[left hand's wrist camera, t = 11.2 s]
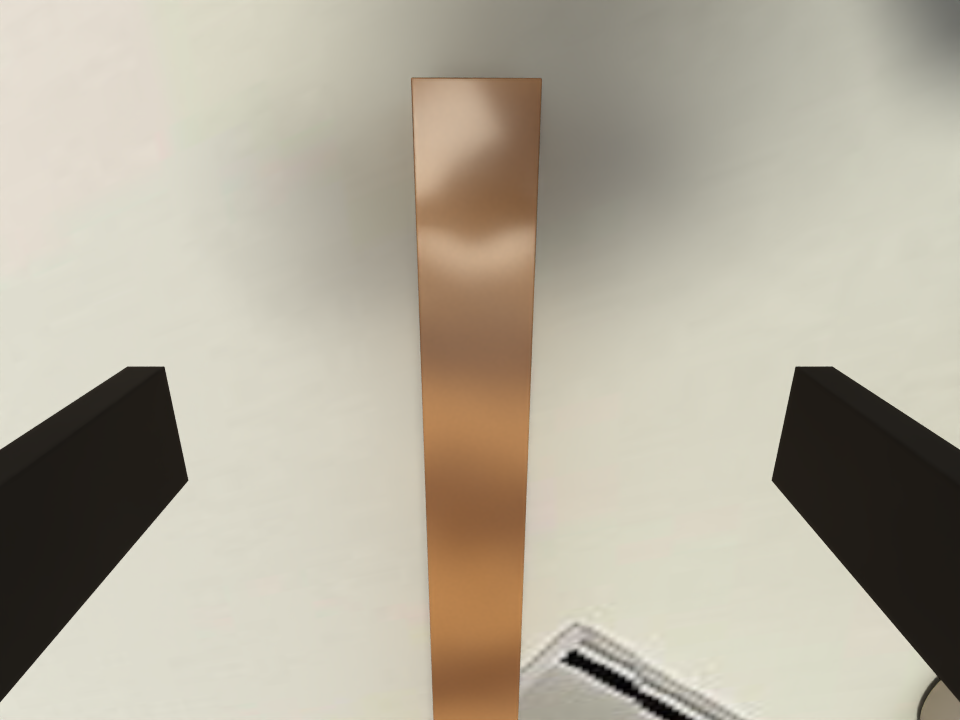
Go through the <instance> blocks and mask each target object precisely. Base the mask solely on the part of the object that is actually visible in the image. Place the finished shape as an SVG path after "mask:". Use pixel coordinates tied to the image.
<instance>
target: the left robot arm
mask: <svg viewBox="0 0 960 720" xmlns="http://www.w3.org/2000/svg"><path fill="white" fill-rule="evenodd" d="M187 481H188V477H187V472H186V467H185V462H184V458H183V453H182V448H181V443H180V439H179V434H178V429H177V424H176V420H175V415H174V410H173V405H172V400H171V396H170V391H169V386H168V381H167V377H166V372H165V367H126V368H125V369H123V370H122V371H120V372H119V373H117V374H116V375H114V376H112V377H111V378H109V379H108V380H106V381H105V382H103V383H102V384H100V385H99V386H97V387H96V388H94V389H93V390H91V391H89V392H88V393H86V394H85V395H83V396H82V397H80V398H79V399H77V400H76V401H74V402H73V403H71V404H70V405H68V406H66V407H65V408H63V409H62V410H60V411H59V412H57V413H56V414H54V415H53V416H51V417H50V418H48V419H47V420H45V421H43V422H42V423H40V424H39V425H37V426H36V427H34V428H33V429H31V430H30V431H28V432H27V433H25V434H24V435H22V436H20V437H19V438H17V439H16V440H14V441H13V442H11V443H10V444H8V445H7V446H5V447H4V448H2V449H1V450H0V702H1V701H2V700H3V698H4V697H5V696H6V695H7V694H8V692H9V691H10V690H11V689H12V688H13V687H14V685H15V684H16V683H17V682H18V681H19V679H20V678H21V677H22V676H23V675H24V674H25V672H26V671H27V670H28V669H29V668H30V667H31V665H32V664H33V663H34V662H35V661H36V659H37V658H38V657H39V656H40V655H41V654H42V652H43V651H44V650H45V649H46V648H47V646H48V645H49V644H50V643H51V642H52V641H53V639H54V638H55V637H56V636H57V635H58V634H59V632H60V631H61V630H62V629H63V628H64V626H65V625H66V624H67V623H68V622H69V621H70V619H71V618H72V617H73V616H74V615H75V613H76V612H77V611H78V610H79V609H80V608H81V606H82V605H83V604H84V603H85V602H86V601H87V599H88V598H89V597H90V596H91V595H92V593H93V592H94V591H95V590H96V589H97V588H98V586H99V585H100V584H101V583H102V582H103V580H104V579H105V578H106V577H107V576H108V575H109V573H110V572H111V571H112V570H113V569H114V568H115V566H116V565H117V564H118V563H119V562H120V560H121V559H122V558H123V557H124V556H125V555H126V553H127V552H128V551H129V550H130V549H131V547H132V546H133V545H134V544H135V543H136V542H137V540H138V539H139V538H140V537H141V536H142V535H143V533H144V532H145V531H146V530H147V529H148V527H149V526H150V525H151V524H152V523H153V522H154V520H155V519H156V518H157V517H158V516H159V514H160V513H161V512H162V511H163V510H164V509H165V507H166V506H167V505H168V504H169V503H170V502H171V500H172V499H173V498H174V497H175V496H176V494H177V493H178V492H179V491H180V490H181V489H182V487H183V486H184V485H185V484H186V483H187ZM772 481H773V483H774V484H775V485H776V486H777V487H778V489H779V490H780V491H781V492H782V493H783V494H784V496H785V497H786V498H787V499H788V500H789V502H790V503H791V504H792V505H793V506H794V507H795V509H796V510H797V511H798V512H799V513H800V514H801V516H802V517H803V518H804V519H805V520H806V522H807V523H808V524H809V525H810V526H811V527H812V529H813V530H814V531H815V532H816V533H817V535H818V536H819V537H820V538H821V539H822V540H823V542H824V543H825V544H826V545H827V546H828V547H829V549H830V550H831V551H832V552H833V553H834V555H835V556H836V557H837V558H838V559H839V560H840V562H841V563H842V564H843V565H844V566H845V568H846V569H847V570H848V571H849V572H850V573H851V575H852V576H853V577H854V578H855V579H856V580H857V582H858V583H859V584H860V585H861V586H862V588H863V589H864V590H865V591H866V592H867V593H868V595H869V596H870V597H871V598H872V599H873V601H874V602H875V603H876V604H877V605H878V606H879V608H880V609H881V610H882V611H883V612H884V613H885V615H886V616H887V617H888V618H889V619H890V621H891V622H892V623H893V624H894V625H895V626H896V628H897V629H898V630H899V631H900V632H901V634H902V635H903V636H904V637H905V638H906V639H907V641H908V642H909V643H910V644H911V645H912V646H913V648H914V649H915V650H916V651H917V652H918V654H919V655H920V656H921V657H922V658H923V659H924V661H925V662H926V663H927V664H928V665H929V667H930V668H931V669H932V670H933V671H934V672H935V674H936V675H937V676H938V677H939V678H940V679H941V681H942V682H943V683H944V684H945V685H946V687H947V688H948V689H949V690H950V691H951V692H952V694H953V695H954V696H955V697H956V698H957V700H958V701H959V702H960V450H959V449H958V448H956V447H955V446H953V445H952V444H950V443H949V442H947V441H946V440H944V439H943V438H941V437H940V436H938V435H936V434H935V433H933V432H932V431H930V430H929V429H927V428H926V427H924V426H923V425H921V424H920V423H918V422H917V421H915V420H913V419H912V418H910V417H909V416H907V415H906V414H904V413H903V412H901V411H900V410H898V409H897V408H895V407H894V406H892V405H890V404H889V403H887V402H886V401H884V400H883V399H881V398H880V397H878V396H877V395H875V394H874V393H872V392H871V391H869V390H867V389H866V388H864V387H863V386H861V385H860V384H858V383H857V382H855V381H854V380H852V379H851V378H849V377H848V376H846V375H844V374H843V373H841V372H840V371H838V370H837V369H835V368H834V367H795V372H794V377H793V381H792V386H791V391H790V396H789V400H788V405H787V410H786V415H785V420H784V424H783V429H782V434H781V439H780V443H779V448H778V453H777V458H776V462H775V467H774V472H773V477H772Z"/></svg>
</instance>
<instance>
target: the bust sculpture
mask: <svg viewBox="0 0 960 720" xmlns="http://www.w3.org/2000/svg"><path fill="white" fill-rule="evenodd" d="M920 720H960V702H959V701H958V700H957V698H956V697H955V696H954V695H953V694H952V692H951V691H950V690H949V689H948V688H947V687H946V685H945V684H944V683H943V682H942V681H941V680H940V681H939V682H938V683H937V685H936V686H935V687H934V688H933V689H932V691H931V692H930V694H929V695H928V697H927V699H926V700H925V702H924V705H923V707H922V711H921V715H920Z"/></svg>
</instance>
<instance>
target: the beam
mask: <svg viewBox="0 0 960 720" xmlns="http://www.w3.org/2000/svg"><path fill="white" fill-rule="evenodd" d="M411 90H412V118H413V147H414V176H415V204H416V233H417V261H418V290H419V318H420V347H421V376H422V404H423V433H424V461H425V490H426V518H427V547H428V575H429V604H430V633H431V661H432V690H433V718H434V720H518V706H519V679H520V652H521V626H522V599H523V572H524V545H525V518H526V492H527V465H528V438H529V411H530V385H531V358H532V331H533V304H534V277H535V251H536V224H537V197H538V170H539V144H540V117H541V90H542V79H541V78H411Z"/></svg>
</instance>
